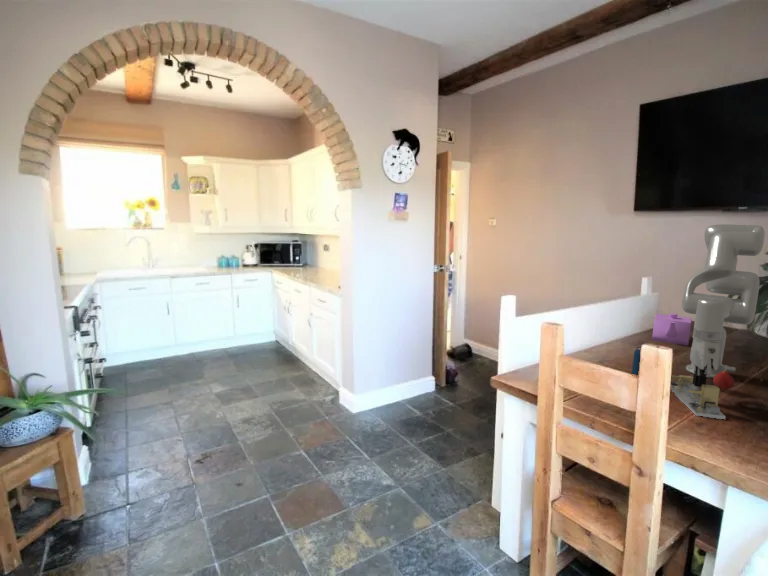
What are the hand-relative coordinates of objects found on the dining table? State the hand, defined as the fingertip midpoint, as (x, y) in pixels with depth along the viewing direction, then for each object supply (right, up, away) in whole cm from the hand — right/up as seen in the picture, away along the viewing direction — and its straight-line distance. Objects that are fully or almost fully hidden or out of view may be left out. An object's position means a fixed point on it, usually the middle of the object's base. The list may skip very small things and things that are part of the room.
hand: (698, 385), depth 141 cm
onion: (+15, -4, +9) cm, 18 cm away
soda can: (-8, -2, +19) cm, 21 cm away
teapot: (+39, +6, +69) cm, 80 cm away
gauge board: (-2, -5, 0) cm, 6 cm away
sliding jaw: (-4, -5, -7) cm, 9 cm away
